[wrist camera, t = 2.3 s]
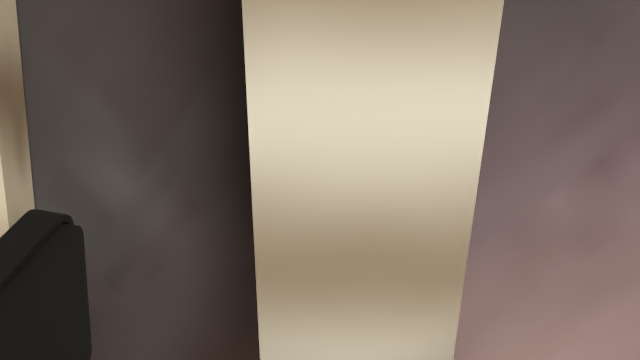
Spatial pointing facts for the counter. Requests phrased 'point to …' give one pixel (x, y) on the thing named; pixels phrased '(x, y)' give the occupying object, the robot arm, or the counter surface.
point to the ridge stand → (13, 125)
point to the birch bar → (365, 170)
